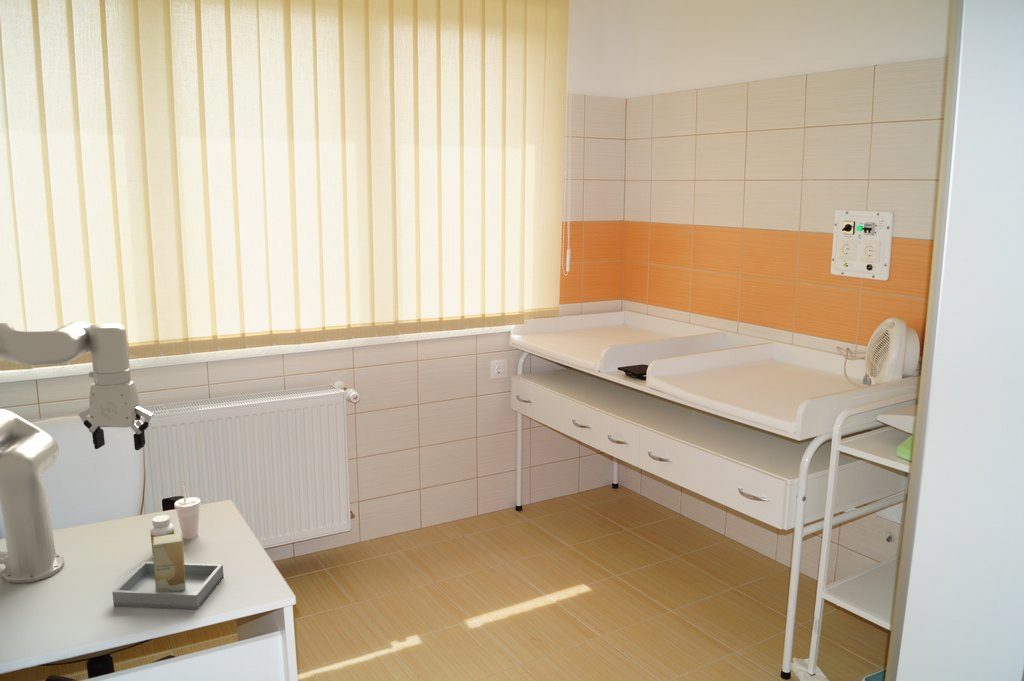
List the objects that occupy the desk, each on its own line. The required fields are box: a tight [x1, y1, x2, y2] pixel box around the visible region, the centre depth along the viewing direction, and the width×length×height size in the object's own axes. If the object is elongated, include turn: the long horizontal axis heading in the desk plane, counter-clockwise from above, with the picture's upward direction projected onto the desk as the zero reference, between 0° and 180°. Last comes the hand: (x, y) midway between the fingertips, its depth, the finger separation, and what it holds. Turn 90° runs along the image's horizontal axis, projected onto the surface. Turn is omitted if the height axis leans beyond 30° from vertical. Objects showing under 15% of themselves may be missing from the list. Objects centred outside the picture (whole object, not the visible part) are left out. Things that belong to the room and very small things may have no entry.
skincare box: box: [152, 532, 185, 592], centre depth 177 cm, size 6×4×12 cm
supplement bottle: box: [150, 514, 175, 555], centre depth 195 cm, size 5×5×10 cm
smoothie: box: [174, 485, 202, 540], centre depth 204 cm, size 6×6×14 cm
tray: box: [111, 561, 224, 610], centre depth 178 cm, size 19×14×4 cm
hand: (119, 447), depth 183 cm, fingers open, 9 cm apart
